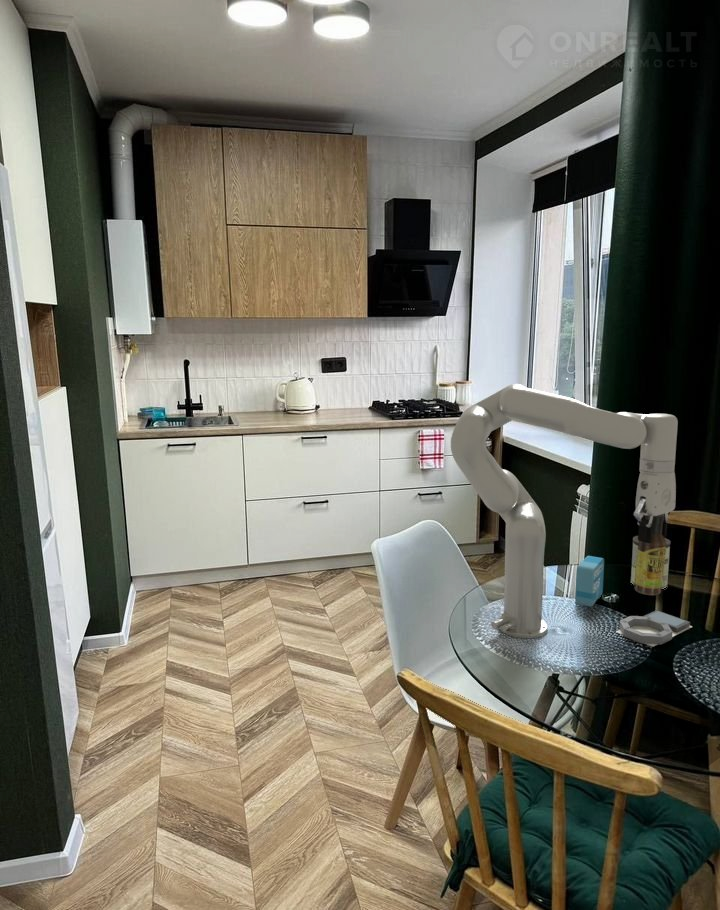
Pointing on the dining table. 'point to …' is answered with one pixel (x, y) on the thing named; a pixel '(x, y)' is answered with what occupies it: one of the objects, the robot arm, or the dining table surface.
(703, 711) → the dining table surface
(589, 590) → the data package
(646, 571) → the sauce bottle
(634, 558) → the coffee can
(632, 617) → the grey shallow tray
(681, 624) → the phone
